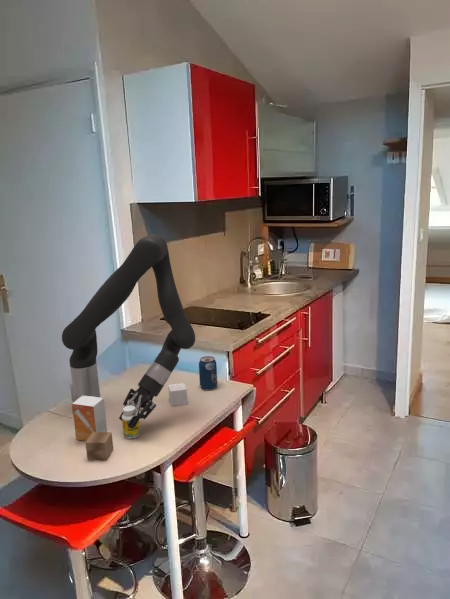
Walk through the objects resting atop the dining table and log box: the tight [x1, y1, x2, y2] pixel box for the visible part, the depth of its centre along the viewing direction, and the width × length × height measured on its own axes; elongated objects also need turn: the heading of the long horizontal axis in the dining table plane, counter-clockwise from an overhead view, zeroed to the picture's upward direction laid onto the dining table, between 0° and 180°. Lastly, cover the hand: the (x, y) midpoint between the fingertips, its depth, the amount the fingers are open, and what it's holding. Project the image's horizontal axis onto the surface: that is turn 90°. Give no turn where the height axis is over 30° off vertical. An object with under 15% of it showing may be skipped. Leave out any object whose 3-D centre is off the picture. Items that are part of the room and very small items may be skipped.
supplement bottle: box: [121, 405, 141, 439], centre depth 156 cm, size 5×5×10 cm
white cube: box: [168, 382, 188, 407], centre depth 178 cm, size 6×6×6 cm
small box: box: [71, 396, 108, 442], centre depth 155 cm, size 8×6×13 cm
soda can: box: [198, 355, 218, 391], centre depth 189 cm, size 7×7×12 cm
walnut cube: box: [84, 431, 114, 462], centre depth 146 cm, size 6×6×6 cm
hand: (125, 423), depth 155 cm, fingers closed on supplement bottle, 5 cm apart
